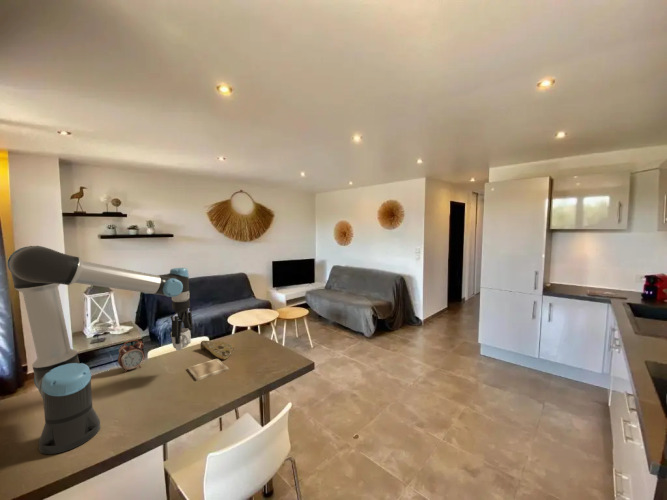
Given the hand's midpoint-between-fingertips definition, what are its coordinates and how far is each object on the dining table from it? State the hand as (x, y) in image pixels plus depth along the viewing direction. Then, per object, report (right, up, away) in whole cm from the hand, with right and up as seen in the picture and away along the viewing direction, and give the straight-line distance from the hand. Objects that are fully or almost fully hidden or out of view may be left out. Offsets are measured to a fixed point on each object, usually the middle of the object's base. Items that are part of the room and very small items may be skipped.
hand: (183, 346), depth 137 cm
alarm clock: (-29, -14, +6) cm, 33 cm away
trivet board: (+10, -13, +4) cm, 17 cm away
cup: (0, -1, -1) cm, 1 cm away
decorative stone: (+8, -14, +26) cm, 30 cm away
